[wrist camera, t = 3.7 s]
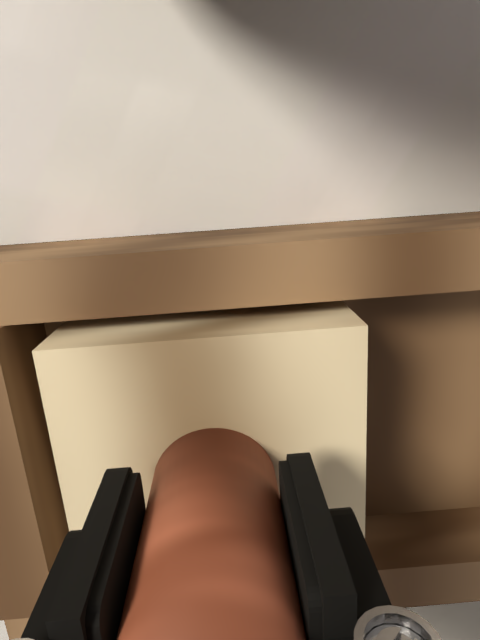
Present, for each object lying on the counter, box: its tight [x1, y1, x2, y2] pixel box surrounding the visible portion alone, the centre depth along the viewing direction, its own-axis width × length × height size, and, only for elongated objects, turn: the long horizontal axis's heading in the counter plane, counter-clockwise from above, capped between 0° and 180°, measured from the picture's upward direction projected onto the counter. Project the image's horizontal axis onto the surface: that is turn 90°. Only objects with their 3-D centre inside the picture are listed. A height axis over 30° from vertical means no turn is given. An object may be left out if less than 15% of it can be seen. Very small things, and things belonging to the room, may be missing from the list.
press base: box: [0, 212, 480, 640], centre depth 14 cm, size 26×12×6 cm, turn 94°
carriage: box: [32, 301, 368, 640], centre depth 10 cm, size 8×8×10 cm
